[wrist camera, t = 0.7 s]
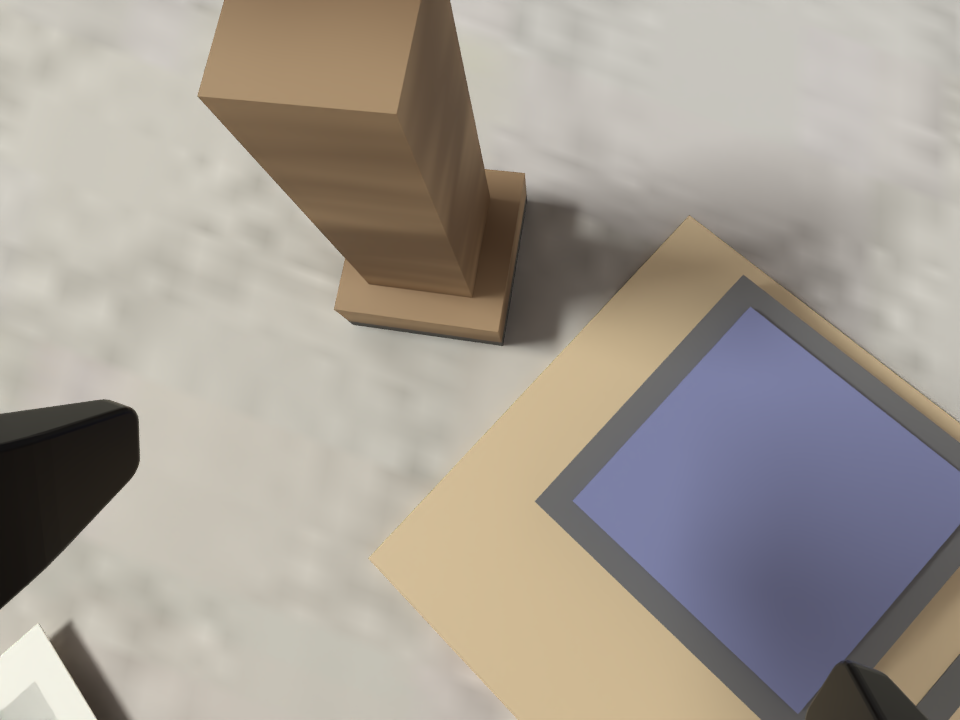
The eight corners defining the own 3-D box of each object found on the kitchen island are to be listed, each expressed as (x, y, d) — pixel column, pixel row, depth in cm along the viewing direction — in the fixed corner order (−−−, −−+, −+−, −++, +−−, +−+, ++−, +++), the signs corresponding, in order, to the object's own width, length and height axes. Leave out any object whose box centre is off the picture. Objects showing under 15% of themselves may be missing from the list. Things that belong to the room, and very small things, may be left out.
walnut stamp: (502, 345, 21) (445, 177, 9) (353, 324, 22) (128, 144, 10) (527, 200, 22) (502, -117, 10) (382, 185, 23) (208, -127, 11)
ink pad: (778, 733, 18) (803, 760, 16) (535, 499, 20) (534, 501, 18) (984, 490, 18) (1031, 492, 17) (729, 289, 20) (746, 271, 19)
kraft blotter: (1102, 1346, 15) (1111, 1359, 14) (369, 557, 20) (367, 558, 20) (1482, 830, 16) (1497, 836, 15) (688, 217, 21) (689, 214, 21)
